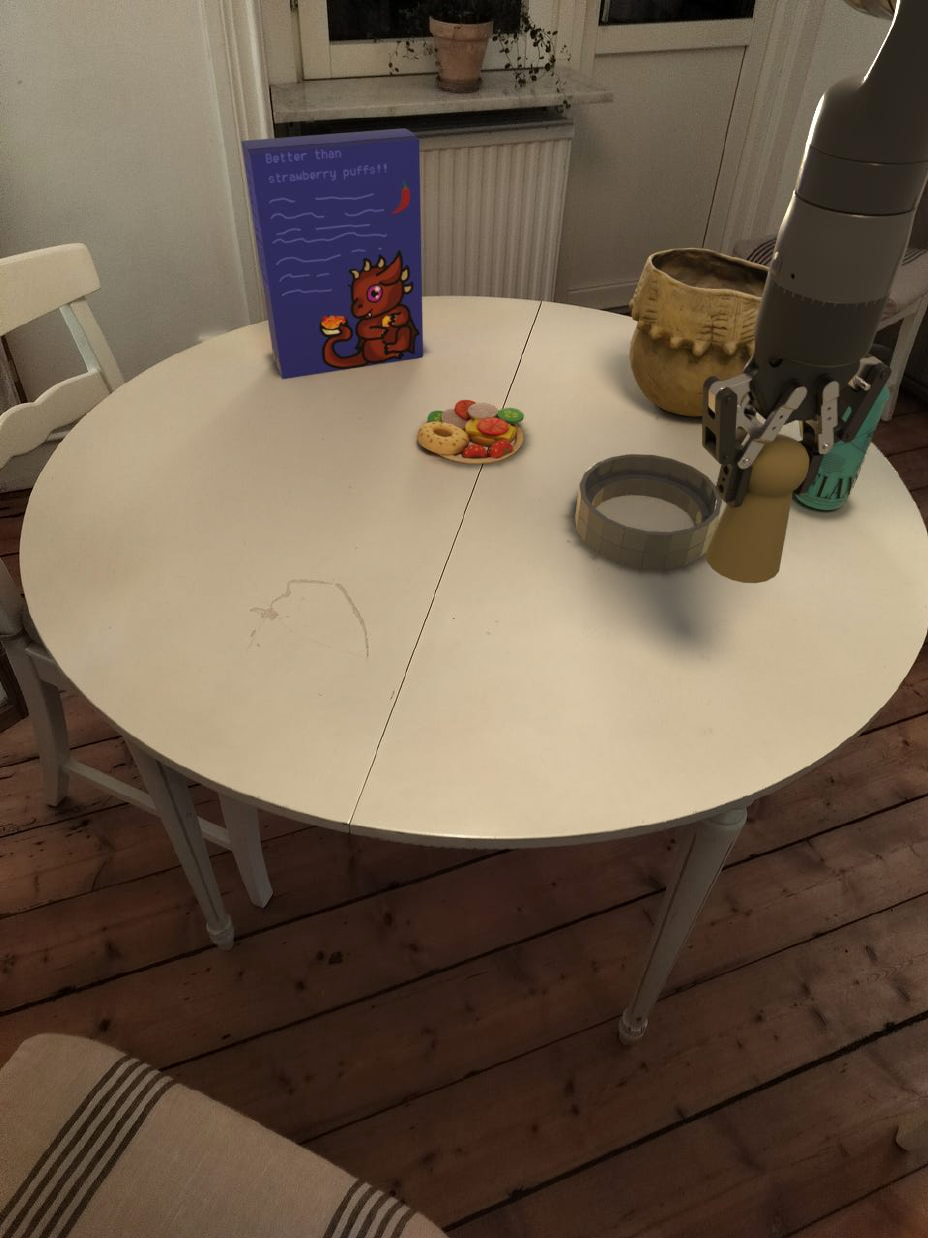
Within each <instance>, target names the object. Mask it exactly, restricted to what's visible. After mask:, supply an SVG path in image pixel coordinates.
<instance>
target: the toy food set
mask: <svg viewBox="0 0 928 1238" xmlns="http://www.w3.org/2000/svg"><path fill="white" fill-rule="evenodd" d="M524 419H525V413H523V411H521V410H520V409H518V408H515V407H504V408H500V409H498V407H497V406H496V405H494V404H492V403H489V402H476V401H474V400H471V399H461V400H459V401H457V402H456V403H455V404H454V408H448V409H446V410H444V411H443V410H433V411H430V412H429V413H428V415H427V422H426V423H423V424H422V425H421V426H420V427H419V428H418V431H417V436H416V440H417V443H418V444H419V445H420V446H421V447H423V449H426V450H428V451H429V452H433V453H435V454H437V455H438V456H440V457H441V458H444V459H446V460H449V461H452V462H455V463H461V464H465V465H466V464H467V465H484V464H485V465H486V464H492V463H496V462H500V461H503V460H506V459H508V458H510V457H512V455H514V454H515V453H517V452H518V451H519V449H520V448H521V447H522V445H523V442H524V433H523V430H522V429H521V427H520V426H519V425H518V424H520V423H522V421H523V420H524ZM513 441H514V443H513V445H512V444H511V443H512V442H513ZM470 443H471V444H470ZM469 444H470V445H469ZM486 448H489V449H488V450H487V449H486ZM458 455H461V456H458Z"/></svg>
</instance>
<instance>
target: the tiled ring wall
mask: <svg viewBox="0 0 928 1238" xmlns="http://www.w3.org/2000/svg"><path fill="white" fill-rule="evenodd" d="M625 496H644V497H649V498H655V499H659V500H662V501H665V502H667V503H670V504H672V505H675V506H676V507H678V508H679V509H681V510H682V511H684V512H685V513H686V514H687V516H689V518H691V520H692V521H693V523H694V526H692V527H689V528H685V529H679V530H673V531H651V530H649V531H648V530H644V529H639V528H635V527H632V526H631V527H630V526H627V525H624V524H622V523H619V522H618V521H615V520H613V519H611V518H608V517H607V516H606V515H605V514H603V513H601V512H600V510H598V509H597V507H598V506H600V505H601V504H602V503H604V502H607V501H609V500H611V499H614V498H619V497H625ZM576 501H577V502H576V507H575V514H574V522H575V530H576V533H578V536H579V537H580V538H581V541H582V542H583V544H585V545H586V546H587V547H589V548H590V549H591V550H592V551H594V552H595V553H596V554H597V555H599V556H600V557H603V558H605V559H606V560H609V561H612V562H614V563H616V564H618V565H622V566H627V567H629V568H630V567H631V568H634V569H635V568H636V569H640V570H660V571H662V570H670V569H675V568H681V567H684V566H687V565H689V564H691V563H693V562H695V561H697V560H699V559H701V558H702V557H703V555H705V553H706V549H707V547H708V544H709V542H710V540H711V538H712V535H713V533H714V531H715V529H716V527H717V524H718V521H719V516H720V513H721V508H722V504H723V500H722V499H721V497H720V495H719V494H718V493H717V492H716V484H715V483H714V482H713V481H712V480H711V478H709V476H707V475H706V474H704V473H703V472H701V470H698V468H695V467H694V466H692V465H690V464H687V463H684V462H682V461H679V460H677V459H674V458H670V457H666V456H662V455H661V456H660V455H656V454H643V453H641V454H639V453H637V454H636V453H629V454H622V455H621V454H620V455H615V456H611V457H609V458H605V459H603V460H601V461H598V462H595V463H594V464H593V465H592V466H590V467H589V468H588V469H587V470H586V471H585V472H584V473H583V475H582V478H581V479H580V482H579V484H578V492H577V500H576Z"/></svg>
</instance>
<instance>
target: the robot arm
mask: <svg viewBox="0 0 928 1238" xmlns="http://www.w3.org/2000/svg"><path fill="white" fill-rule="evenodd" d="M842 1H843V2H844V3H845V4H846V5H848V6H849V7H850V8H851V9H853V10H855V11H857V12H858V13H860V14H864V15H866V16H869V17H873V18H877V19H879V20H880V19H881V20H886V21H889V22H892V23H891V26H890V28H889V31H888V33H887V35H886V38H885V39H884V41H883V43H882V46H881V48H880V49H879V51H878V53H877V55H876V57H875V58H874V60H873V62H872V64H871V65H870V68H869V70H868V71H867V72H866V73H865V72H864V73H857V74H856V73H855V74H852V75H849V76H845V77H842V78H840V79H838V80H837V81H835V82H833V83H832V84H831V85H830V86H829V87H828V88H827V89H826V90H825V92H824V93H823V94H822V95H821V98H820V100H819V102H818V105H817V107H816V110H815V113H814V115H813V119H812V122H811V125H810V128H809V132H808V135H807V140H806V143H805V147H804V150H803V155H802V158H801V162H800V166H799V170H798V174H797V177H796V182H795V185H794V190H793V192H792V196H791V198H790V202H789V205H788V207H787V209H786V212H785V213H784V214H785V215H784V216H783V219H782V222H781V224H780V227H779V231H778V234H777V237H776V242H775V245H774V249H773V252H772V256H771V261H770V264H769V272H768V276H767V280H766V284H765V288H764V292H763V295H762V299H761V303H760V307H759V311H758V314H757V318H756V322H755V326H754V353H753V355H752V357H751V359H750V360H749V362H748V363H747V365H746V366H745V368H744V369H743V372H742V374H741V375H738V376H735V377H733V378H730V379H727V380H725V381H721V380H720V379H719V378H718V377H716V376H711V377H709V378H707V379H706V381H705V382H704V384H703V411H702V416H701V420H702V421H701V422H702V423H701V426H702V427H701V447H703V448H704V450H706V451H707V453H709V454H710V456H711V457H712V458H713V459H715V461H716V462H717V463H718V464H719V465H720V468H719V472H718V476H717V481H716V484H715V486H716V492H717V493H718V494H719V495H720V497H721V499H722V502H724V503H725V504H727V505H728V506H729V507H730V508H735V507H740V506H741V505H742V503H743V500H744V496H745V493H746V490H747V486H748V483H749V479H750V476H751V473H752V469H753V467H752V466H751V465H752V463H753V462H754V460H755V459H756V457H757V456H758V454H759V453H760V451H761V450H762V448H763V446H764V445H765V444H766V443H771V442H773V441H774V439H775V438H776V436H777V435H778V434H780V431H782V429H783V428H784V426H786V425H789V424H790V423H794V422H795V421H798V426H799V436H800V438H801V440H797V441H798V442H800V443H801V444H802V445H803V446H804V447H805V449H806V451H807V453H808V456H809V468H808V472H807V475H806V478H805V479H804V481H803V482H802V483H801V484H800V486H799V487H798V488H797V489H795V490H793V494H794V496H795V495H801V494H806V493H807V492H808V490H809V487H810V486H811V485H812V484H813V482H814V481H815V479H816V476H817V473H818V471H819V468H820V465H821V462H822V459H823V457H824V454H826V453H828V452H829V451H830V450H831V449H832V448H833V445H834V444H835V443H837V442H839V441H842V442H844V443H849V442H851V441H852V440H853V439H854V438H855V437H856V435H857V433H858V431H859V430H860V428H861V426H862V424H863V423H864V421H865V419H866V417H867V416H868V414H869V412H870V410H871V409H872V407H873V405H874V403H875V402H876V400H877V398H878V396H879V395H880V393H881V391H882V389H883V388H884V386H885V384H886V385H887V382H888V380H889V379H890V377H891V376H892V367H890V368H889V367H888V366H886V365H885V364H884V363H883V362H881V361H880V360H878V359H877V358H875V357H873V356H872V355H870V354H869V353H868V352H869V351H870V349H871V346H872V343H874V340H875V338H876V335H877V332H878V329H879V328H880V323H881V321H882V318H883V315H884V313H885V310H886V307H887V305H888V302H889V299H890V296H891V294H892V291H893V288H894V285H895V283H896V280H897V277H898V274H899V272H900V269H901V267H902V264H903V261H904V259H905V255H906V253H907V249H908V246H909V243H910V238H911V234H912V230H913V225H914V220H915V216H916V213H917V209H918V207H919V203H920V201H921V199H922V195H923V192H924V190H925V187H926V185H927V182H928V0H842ZM746 393H747V395H746V397H745V399H744V400H743V402H742V399H743V397H744V395H745V394H746ZM741 402H742V404H741ZM848 407H850V408H851V413H850V415H849V417H848V418H847V420H846V421H844V420H843V419H842V418H843V416H844V414H845V412H846V410H847V408H848ZM757 414H759V416H761V417H762V418H763V419H764V420H765V421H764V423H763V422H761V420H759V419H758V418H757ZM748 435H749V436H748ZM747 436H748V437H749V438H748V439H747V440H748V441H747V440H746V441H747V442H746V441H745V439H746V438H747ZM744 441H745V442H746V444H745V446H742V445H743V442H744Z"/></svg>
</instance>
